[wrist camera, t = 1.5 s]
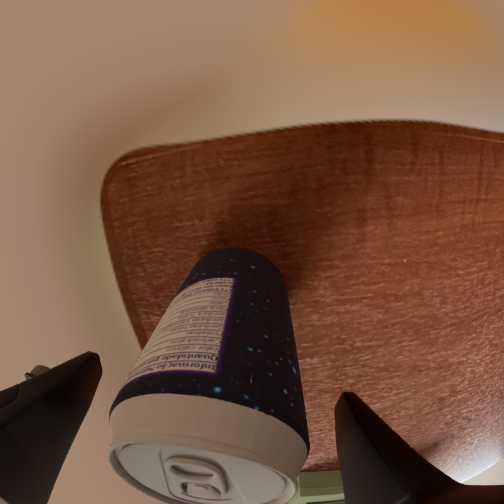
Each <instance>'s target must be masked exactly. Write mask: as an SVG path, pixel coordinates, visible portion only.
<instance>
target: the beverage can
mask: <svg viewBox="0 0 504 504" xmlns="http://www.w3.org/2000/svg"><path fill="white" fill-rule="evenodd" d="M109 418H110V419H109V420H110V429H111V437H112V443H111V444H110V445H109V447H108V449H107V459H108V461H109V464H110V465H111V467H112V468H113V470H114V471H115V472H116V473H117V474H118V475H119V476H120V477H121V478H122V479H123V480H125V481H126V482H127V483H129V484H130V485H132V486H133V487H135V488H136V489H138V490H140V491H141V492H143V493H145V494H147V495H149V496H151V497H153V498H156V499H158V500H160V501H163V502H165V503H168V504H285V503H287V502H288V501H289V500H291V499H292V498H293V497H294V496H295V494H296V493H297V490H298V481H297V479H296V478H297V476H298V474H299V473H300V471H301V469H302V467H303V465H304V463H305V461H306V459H307V457H308V454H309V450H310V443H309V435H308V427H307V420H306V412H305V405H304V398H303V391H302V384H301V377H300V370H299V364H298V357H297V350H296V344H295V338H294V331H293V325H292V319H291V313H290V307H289V301H288V295H287V289H286V285H285V282H284V279H283V277H282V275H281V273H280V272H279V270H278V269H277V268H276V266H275V265H274V264H273V263H272V262H270V261H269V260H268V259H267V258H265V257H264V256H262V255H260V254H258V253H256V252H253V251H250V250H246V249H240V248H227V249H221V250H218V251H215V252H212V253H210V254H208V255H206V256H205V257H203V258H202V259H201V260H200V261H199V262H197V263H196V265H195V266H194V267H193V269H192V270H191V272H190V273H189V275H188V276H187V278H186V280H185V281H184V283H183V284H182V286H181V288H180V289H179V291H178V292H177V294H176V296H175V297H174V299H173V301H172V302H171V304H170V305H169V307H168V309H167V310H166V312H165V314H164V315H163V317H162V319H161V320H160V322H159V324H158V325H157V327H156V329H155V330H154V332H153V334H152V335H151V337H150V339H149V340H148V342H147V344H146V346H145V347H144V349H143V351H142V352H141V354H140V356H139V358H138V360H137V361H136V363H135V365H134V366H133V368H132V370H131V372H130V373H129V375H128V377H127V379H126V381H125V382H124V384H123V386H122V388H121V390H120V391H119V393H118V395H117V397H116V399H115V401H114V403H113V405H112V406H111V409H110V414H109Z"/></svg>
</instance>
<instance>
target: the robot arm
mask: <svg viewBox="0 0 504 504" xmlns="http://www.w3.org/2000/svg"><path fill="white" fill-rule="evenodd" d="M101 376H102V366H101V362H100V358H99V355H98V354H97V353H94V352H90V351H88V352H86V353H84V354H81V355H79V356H77V357H75V358H73V359H71V360H69V361H67V362H65V363H63V364H60V365H58V366H56V367H54V368H52V369H49V370H47V371H45V372H43V373H41V374H39V375H36V376H33V375H31V374H29V373H26V374H25V377H26V380H25V381H23V382H21V383H20V384H17V385H14V386H12V387H10V388H8V389H5V390H2V391H0V504H47V503H48V500H49V497H50V495H51V492H52V490H53V487H54V484H55V482H56V479H57V477H58V475H59V472H60V470H61V467H62V465H63V463H64V461H65V458H66V456H67V454H68V451H69V449H70V447H71V445H72V443H73V441H74V438H75V436H76V434H77V432H78V430H79V428H80V426H81V424H82V422H83V420H84V417H85V416H86V414H87V411H88V410H89V407H90V405H91V403H92V400H93V397H94V395H95V392H96V389H97V387H98V384H99V381H100V379H101ZM334 412H335V431H336V447H337V453H338V459H339V465H340V472H341V478H342V485H343V491H344V499H345V504H504V485H487V486H486V485H484V486H483V485H464V484H461V483H459V482H457V481H455V480H453V479H452V478H450V477H449V476H447V475H446V474H445V473H443V472H442V471H440V470H439V469H437V468H436V467H435V466H433V465H432V464H431V463H429V462H428V461H427V460H426V459H424V458H423V457H422V456H421V455H420V454H419V453H417V452H416V451H415V450H414V449H413V448H412V447H411V448H410V445H409V444H408V443H407V442H405V441H404V440H403V439H402V438H401V437H400V436H399V435H398V434H397V433H396V432H395V431H394V430H393V429H392V428H391V427H389V426H388V425H387V424H386V423H385V422H384V421H383V420H382V419H381V418H380V417H379V416H378V415H377V414H376V413H375V412H374V411H373V410H372V409H371V408H370V407H369V406H368V405H366V404H365V403H364V402H363V401H362V400H361V399H360V398H359V397H358V396H357V395H356V394H355V393H354V392H343V393H342V394H341V396H340V398H339V400H338V402H337V404H336V406H335V411H334Z"/></svg>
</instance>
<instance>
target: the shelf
mask: <svg viewBox="0 0 504 504" xmlns="http://www.w3.org/2000/svg"><path fill="white" fill-rule="evenodd" d="M296 479H297V481H298V490H297V493H296V494H295V496H294V497H293V498H292V499H291V500H289V501H288V502H287V503H285V504H345V499H344V491H343V485H342V478H341V472H340V470H334V471H316V472H300V473H299V474H298V476H297V478H296Z"/></svg>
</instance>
